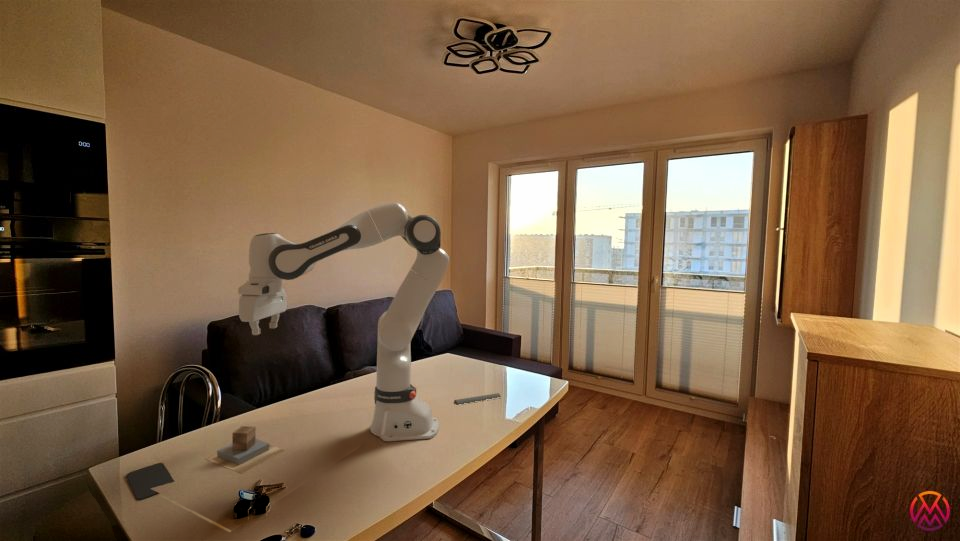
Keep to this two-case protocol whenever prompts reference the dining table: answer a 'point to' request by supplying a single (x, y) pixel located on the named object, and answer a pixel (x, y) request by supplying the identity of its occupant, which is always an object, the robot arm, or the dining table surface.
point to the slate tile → (242, 452)
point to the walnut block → (243, 438)
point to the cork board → (247, 464)
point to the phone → (148, 480)
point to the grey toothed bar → (477, 398)
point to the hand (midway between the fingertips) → (265, 331)
